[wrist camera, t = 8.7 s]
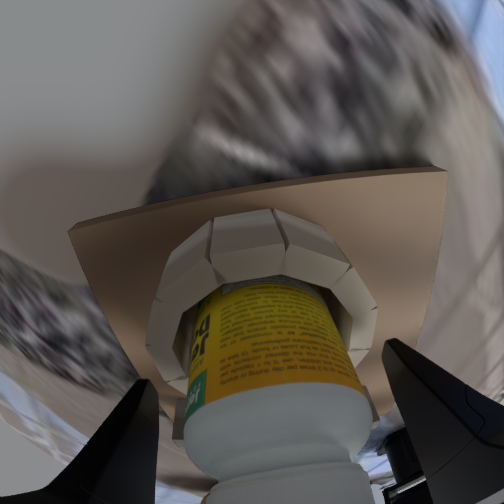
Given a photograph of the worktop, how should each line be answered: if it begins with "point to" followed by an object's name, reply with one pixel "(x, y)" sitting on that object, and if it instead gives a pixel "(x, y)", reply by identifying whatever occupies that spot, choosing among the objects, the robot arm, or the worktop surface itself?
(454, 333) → the worktop surface
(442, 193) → the board
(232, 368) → the supplement bottle
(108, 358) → the worktop surface
